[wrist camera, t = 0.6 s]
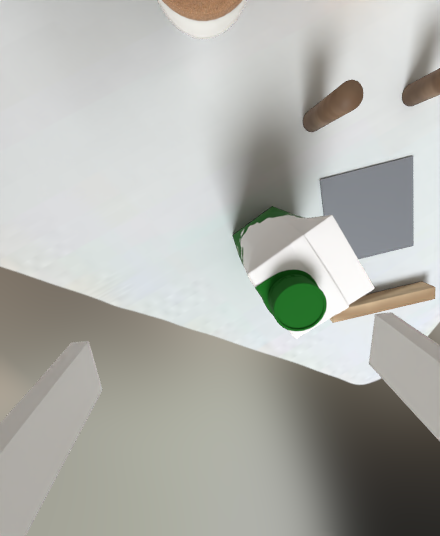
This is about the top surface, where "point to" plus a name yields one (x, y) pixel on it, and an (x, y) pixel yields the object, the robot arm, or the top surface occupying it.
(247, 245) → the milk carton
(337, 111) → the post
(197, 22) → the lidded jar
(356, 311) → the rail
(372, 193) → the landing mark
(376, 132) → the top surface
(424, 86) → the post
